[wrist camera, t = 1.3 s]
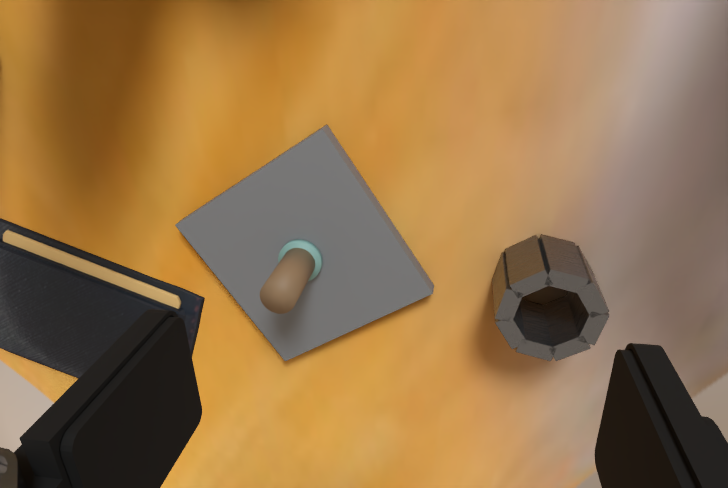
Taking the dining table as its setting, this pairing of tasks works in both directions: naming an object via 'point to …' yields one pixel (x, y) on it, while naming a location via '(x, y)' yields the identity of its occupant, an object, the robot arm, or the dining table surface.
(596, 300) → the collar
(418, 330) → the dining table surface
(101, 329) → the wallet
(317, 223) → the post base
